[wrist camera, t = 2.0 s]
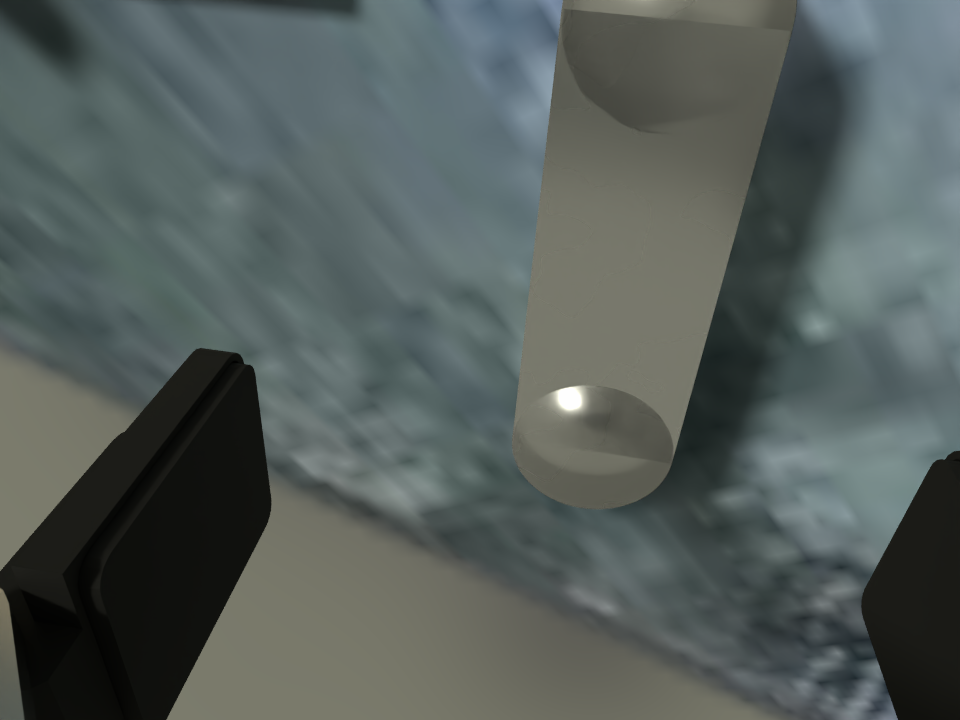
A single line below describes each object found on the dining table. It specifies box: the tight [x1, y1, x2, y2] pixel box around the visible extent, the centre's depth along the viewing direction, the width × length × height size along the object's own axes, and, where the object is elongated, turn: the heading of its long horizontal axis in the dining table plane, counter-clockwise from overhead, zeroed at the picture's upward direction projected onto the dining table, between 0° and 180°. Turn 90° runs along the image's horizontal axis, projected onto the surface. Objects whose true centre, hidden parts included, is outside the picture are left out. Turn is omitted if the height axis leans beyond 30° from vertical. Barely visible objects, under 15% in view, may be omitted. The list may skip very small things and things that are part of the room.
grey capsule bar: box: [512, 0, 797, 509], centre depth 17 cm, size 4×14×4 cm, turn 176°
